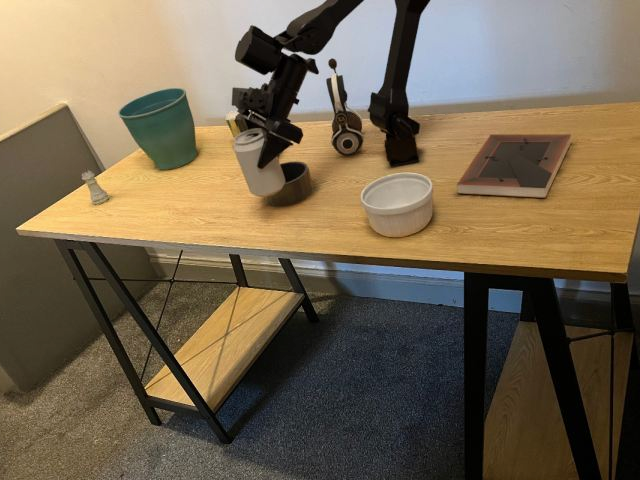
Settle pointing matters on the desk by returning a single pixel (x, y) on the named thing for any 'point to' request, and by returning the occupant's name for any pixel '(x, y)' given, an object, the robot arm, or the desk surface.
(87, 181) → the rook chess piece
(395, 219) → the ramekin
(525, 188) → the picture frame
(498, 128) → the desk surface
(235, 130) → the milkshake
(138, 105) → the flower pot
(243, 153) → the can
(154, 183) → the desk surface
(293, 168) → the bowl
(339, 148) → the headset
